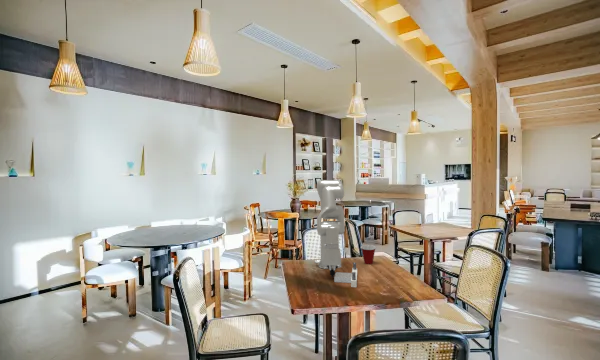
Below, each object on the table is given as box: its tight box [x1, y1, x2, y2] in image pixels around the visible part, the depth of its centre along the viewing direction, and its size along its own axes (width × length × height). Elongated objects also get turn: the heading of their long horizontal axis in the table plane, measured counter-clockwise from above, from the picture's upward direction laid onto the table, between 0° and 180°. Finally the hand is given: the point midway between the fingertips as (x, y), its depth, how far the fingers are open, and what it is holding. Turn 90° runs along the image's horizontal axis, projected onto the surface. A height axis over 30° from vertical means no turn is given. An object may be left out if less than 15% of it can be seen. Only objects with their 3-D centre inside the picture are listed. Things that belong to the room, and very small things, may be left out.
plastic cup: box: [360, 244, 377, 265], centre depth 230 cm, size 11×11×12 cm
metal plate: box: [333, 271, 352, 284], centre depth 193 cm, size 10×10×3 cm
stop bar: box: [350, 262, 358, 288], centre depth 192 cm, size 3×26×8 cm, turn 169°
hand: (332, 276), depth 195 cm, fingers closed
